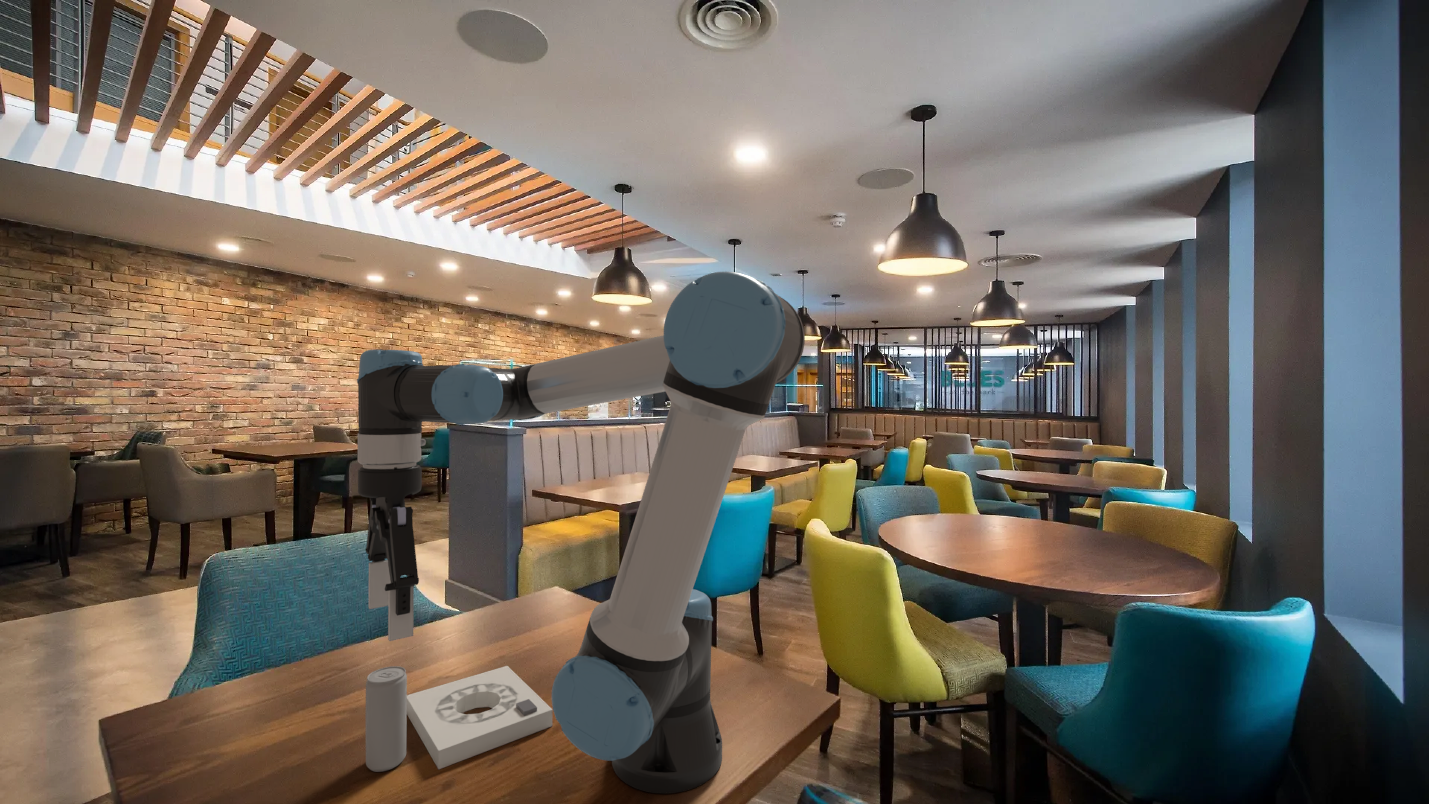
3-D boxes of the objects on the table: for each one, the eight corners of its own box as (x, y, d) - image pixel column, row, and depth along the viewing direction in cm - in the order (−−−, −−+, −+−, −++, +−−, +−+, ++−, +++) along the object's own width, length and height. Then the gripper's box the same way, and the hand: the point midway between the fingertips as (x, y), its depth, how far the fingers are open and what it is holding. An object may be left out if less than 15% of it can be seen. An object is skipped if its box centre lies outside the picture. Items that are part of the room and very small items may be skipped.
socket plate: (552, 725, 87) (552, 705, 87) (438, 769, 77) (438, 746, 77) (507, 679, 101) (507, 662, 101) (405, 711, 91) (405, 691, 91)
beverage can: (388, 776, 75) (388, 684, 75) (356, 771, 76) (356, 680, 76) (414, 754, 80) (415, 667, 80) (384, 749, 81) (384, 663, 81)
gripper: (446, 473, 71) (445, 645, 72) (400, 454, 91) (399, 590, 91) (376, 478, 67) (375, 662, 67) (344, 457, 86) (343, 600, 86)
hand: (389, 621), depth 79 cm, fingers open, 13 cm apart
